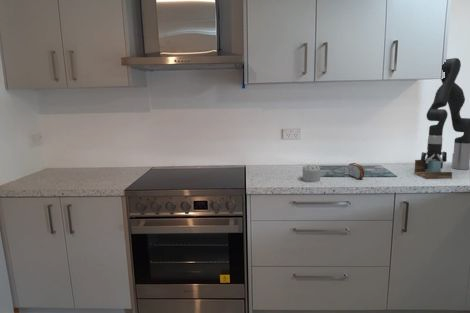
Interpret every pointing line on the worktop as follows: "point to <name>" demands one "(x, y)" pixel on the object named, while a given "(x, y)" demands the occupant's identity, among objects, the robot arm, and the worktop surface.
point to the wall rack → (433, 175)
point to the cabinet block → (433, 166)
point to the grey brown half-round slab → (356, 170)
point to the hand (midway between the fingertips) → (432, 168)
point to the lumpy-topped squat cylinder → (311, 173)
